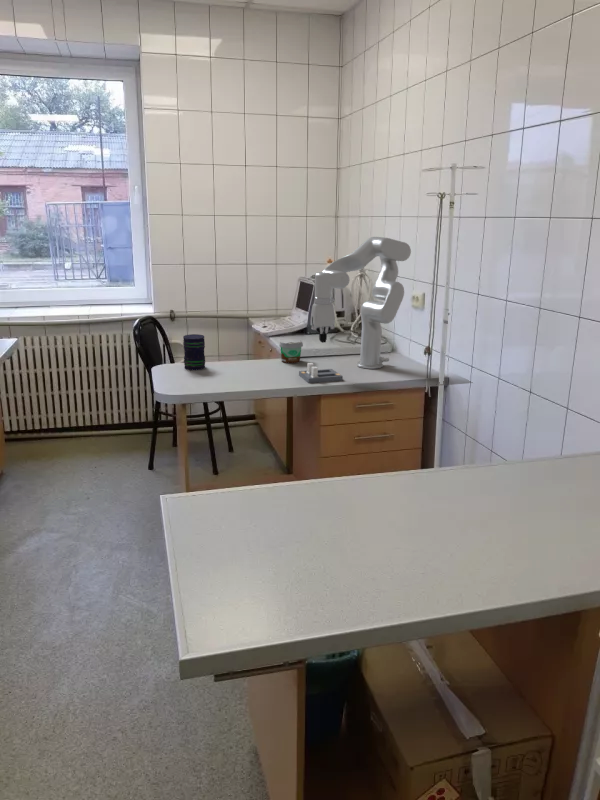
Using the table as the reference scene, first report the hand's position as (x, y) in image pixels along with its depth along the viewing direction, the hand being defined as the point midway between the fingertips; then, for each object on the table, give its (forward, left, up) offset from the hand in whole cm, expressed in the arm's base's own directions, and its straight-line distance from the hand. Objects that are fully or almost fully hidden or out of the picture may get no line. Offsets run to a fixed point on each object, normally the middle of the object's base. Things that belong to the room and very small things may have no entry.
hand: (322, 341), depth 278 cm
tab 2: (+6, +7, -15) cm, 17 cm away
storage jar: (+53, -28, -16) cm, 62 cm away
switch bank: (+2, +4, -16) cm, 16 cm away
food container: (+5, -26, -16) cm, 31 cm away
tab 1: (+6, 0, -15) cm, 16 cm away
